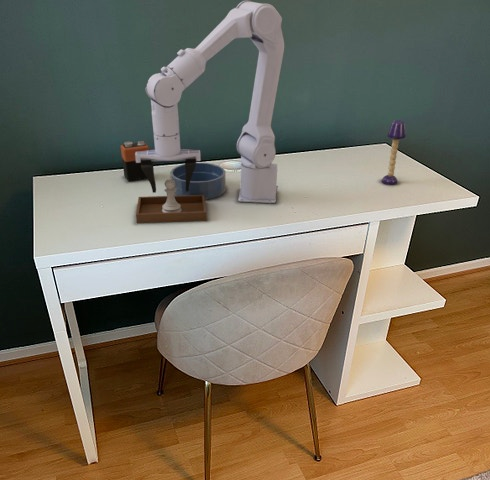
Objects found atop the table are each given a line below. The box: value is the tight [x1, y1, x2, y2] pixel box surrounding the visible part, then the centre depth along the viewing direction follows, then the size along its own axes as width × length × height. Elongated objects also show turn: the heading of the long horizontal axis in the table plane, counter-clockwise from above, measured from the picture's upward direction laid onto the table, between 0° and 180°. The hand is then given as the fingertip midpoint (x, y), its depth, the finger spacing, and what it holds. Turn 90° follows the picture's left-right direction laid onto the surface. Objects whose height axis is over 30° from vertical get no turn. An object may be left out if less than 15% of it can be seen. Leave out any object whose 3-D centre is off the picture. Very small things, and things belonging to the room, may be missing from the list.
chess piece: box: [162, 178, 182, 213], centre depth 119 cm, size 5×5×8 cm
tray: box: [135, 195, 208, 224], centre depth 121 cm, size 16×10×2 cm, turn 97°
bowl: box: [169, 162, 227, 200], centre depth 132 cm, size 14×14×5 cm
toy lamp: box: [381, 119, 406, 186], centre depth 136 cm, size 5×5×17 cm
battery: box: [120, 140, 150, 182], centre depth 137 cm, size 4×7×10 cm, turn 115°
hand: (170, 190), depth 118 cm, fingers open, 7 cm apart
